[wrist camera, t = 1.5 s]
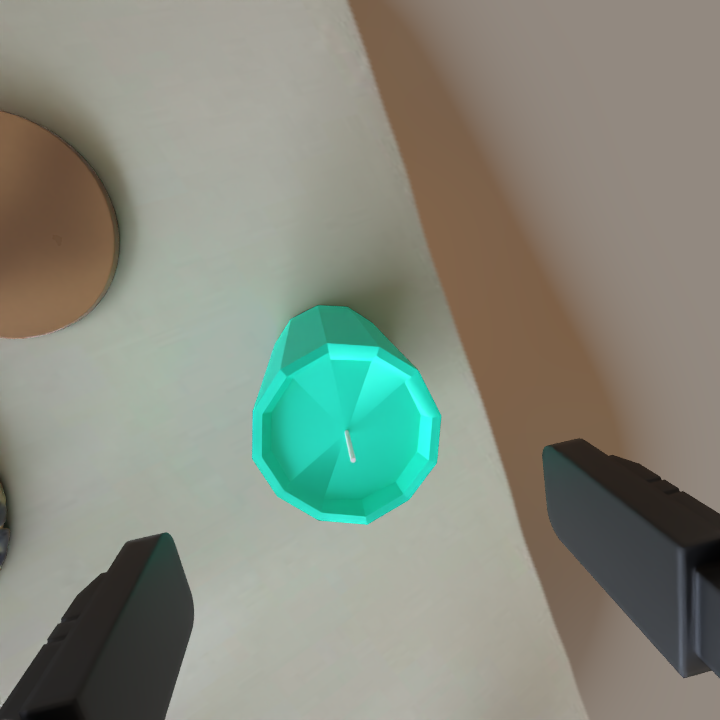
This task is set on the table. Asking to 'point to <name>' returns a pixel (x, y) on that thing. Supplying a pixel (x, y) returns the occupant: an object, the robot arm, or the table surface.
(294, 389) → the candle
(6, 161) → the cork coaster
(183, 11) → the table surface
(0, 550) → the decorative bowl
